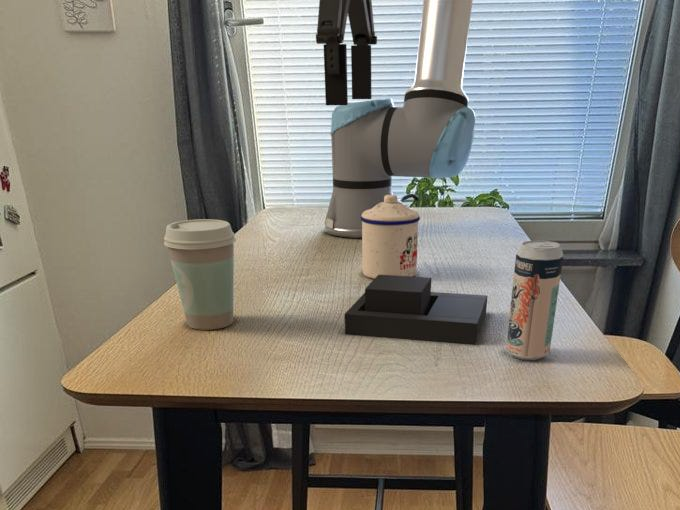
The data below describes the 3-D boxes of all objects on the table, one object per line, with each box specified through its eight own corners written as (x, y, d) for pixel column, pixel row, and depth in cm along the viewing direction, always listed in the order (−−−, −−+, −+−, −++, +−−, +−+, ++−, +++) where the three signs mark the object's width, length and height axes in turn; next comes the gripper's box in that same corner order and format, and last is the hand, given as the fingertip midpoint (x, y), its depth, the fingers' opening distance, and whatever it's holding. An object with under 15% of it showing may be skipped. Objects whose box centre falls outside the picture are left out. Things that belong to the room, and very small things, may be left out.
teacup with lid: (410, 283, 102) (413, 201, 96) (353, 279, 104) (352, 198, 98) (427, 264, 112) (430, 189, 106) (374, 261, 114) (374, 187, 108)
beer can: (500, 348, 77) (512, 240, 71) (540, 346, 78) (555, 238, 71) (512, 363, 73) (525, 250, 67) (554, 361, 74) (571, 248, 67)
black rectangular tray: (368, 305, 92) (368, 287, 91) (485, 314, 88) (487, 295, 87) (344, 333, 82) (344, 313, 81) (475, 344, 78) (477, 323, 77)
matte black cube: (378, 312, 89) (378, 274, 87) (429, 316, 88) (431, 277, 85) (364, 328, 84) (364, 288, 81) (420, 333, 82) (421, 292, 79)
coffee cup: (186, 312, 90) (172, 218, 84) (249, 312, 90) (240, 218, 83) (168, 333, 82) (152, 232, 76) (237, 334, 82) (226, 232, 76)
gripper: (342, -84, 90) (346, 97, 102) (280, -124, 70) (294, 108, 81) (396, -87, 89) (394, 96, 100) (350, -129, 68) (354, 108, 80)
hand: (350, 102), depth 91 cm, fingers open, 13 cm apart
